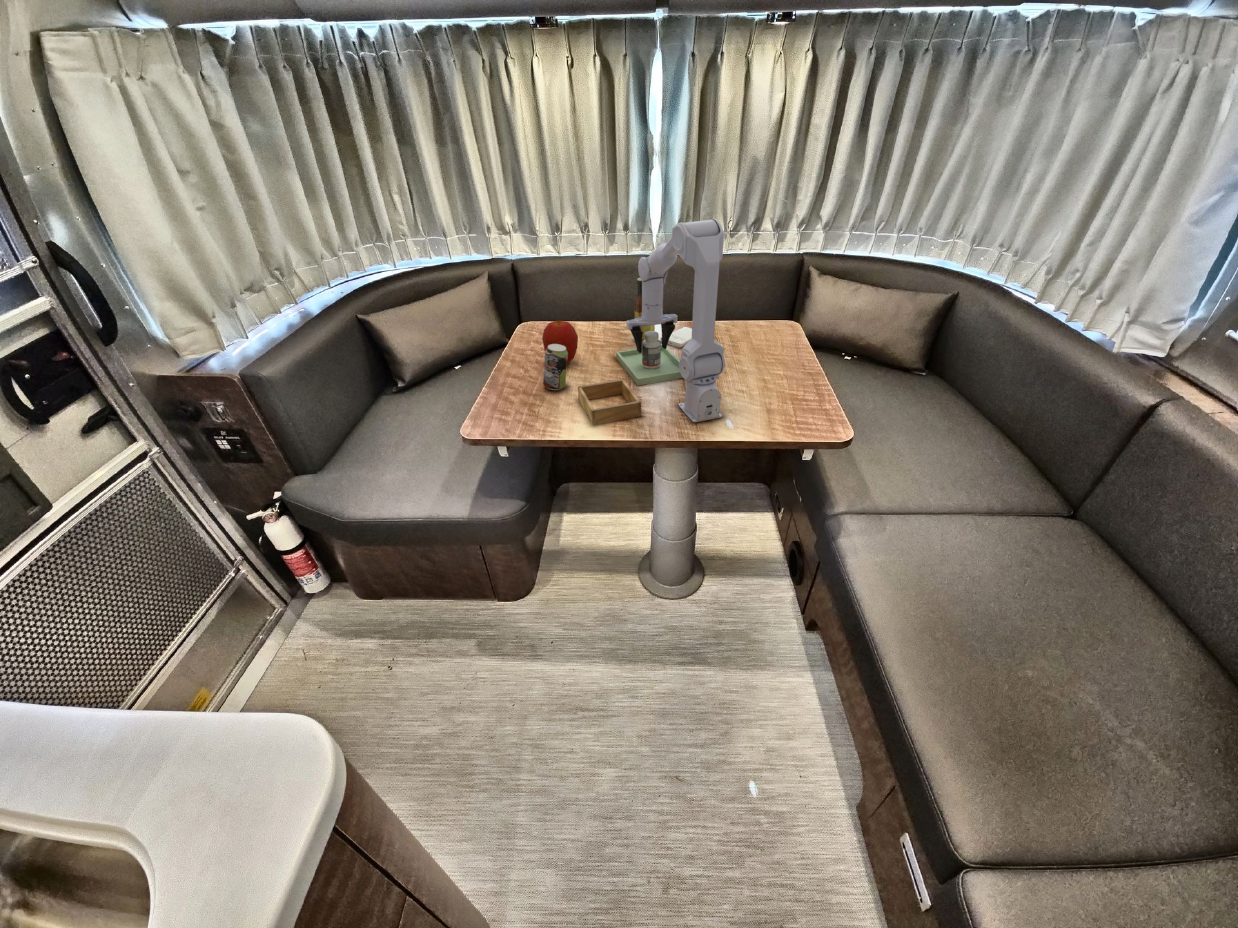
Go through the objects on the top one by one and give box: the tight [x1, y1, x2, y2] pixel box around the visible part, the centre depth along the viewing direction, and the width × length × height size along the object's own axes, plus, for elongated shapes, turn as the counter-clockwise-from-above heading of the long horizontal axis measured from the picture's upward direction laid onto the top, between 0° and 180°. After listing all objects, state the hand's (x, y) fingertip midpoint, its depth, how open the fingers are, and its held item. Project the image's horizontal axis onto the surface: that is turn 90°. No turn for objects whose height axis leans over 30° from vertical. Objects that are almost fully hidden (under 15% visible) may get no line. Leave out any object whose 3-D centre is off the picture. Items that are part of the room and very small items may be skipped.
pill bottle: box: [642, 330, 662, 369], centre depth 153 cm, size 5×5×10 cm
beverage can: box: [542, 344, 568, 391], centre depth 143 cm, size 6×7×12 cm
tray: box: [615, 344, 684, 386], centre depth 156 cm, size 20×16×2 cm
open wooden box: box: [577, 378, 642, 426], centre depth 136 cm, size 14×13×4 cm
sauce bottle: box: [633, 277, 656, 342], centre depth 166 cm, size 7×6×20 cm
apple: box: [541, 319, 579, 365], centre depth 156 cm, size 10×10×14 cm
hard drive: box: [660, 326, 692, 349], centre depth 172 cm, size 2×8×12 cm
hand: (651, 349), depth 153 cm, fingers open, 7 cm apart
